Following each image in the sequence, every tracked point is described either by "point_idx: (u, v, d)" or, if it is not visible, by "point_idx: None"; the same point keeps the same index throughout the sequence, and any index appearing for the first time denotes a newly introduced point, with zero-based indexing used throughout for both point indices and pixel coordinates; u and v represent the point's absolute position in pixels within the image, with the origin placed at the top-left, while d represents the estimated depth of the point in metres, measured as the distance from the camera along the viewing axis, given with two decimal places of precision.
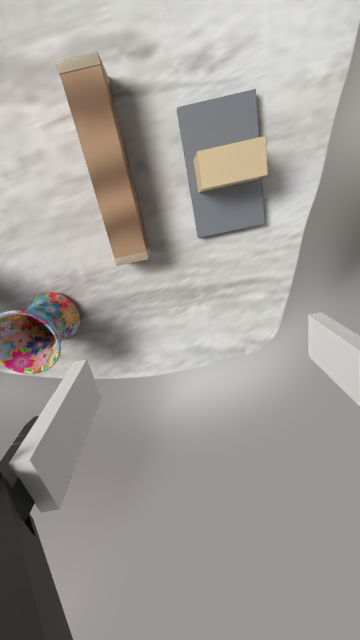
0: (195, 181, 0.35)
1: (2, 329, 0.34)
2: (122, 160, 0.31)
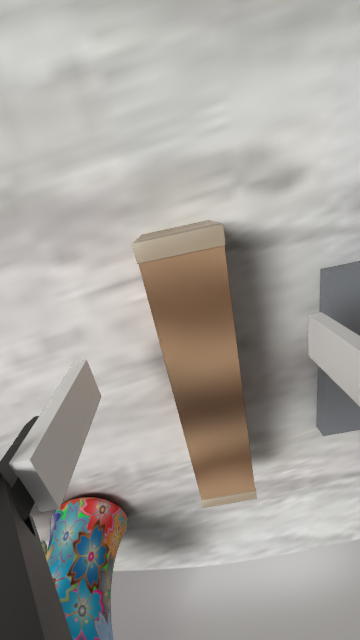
0: None
1: None
2: (239, 384, 0.16)
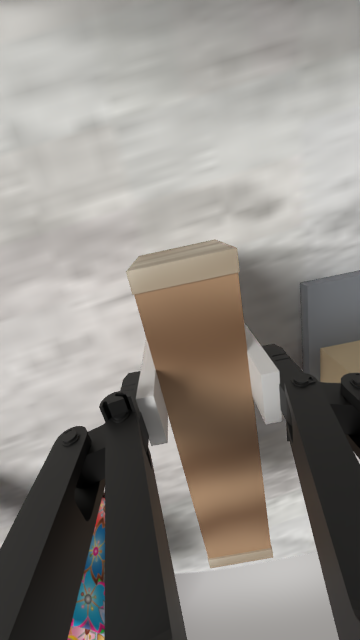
0: (318, 372, 0.23)
1: None
2: (253, 431, 0.14)
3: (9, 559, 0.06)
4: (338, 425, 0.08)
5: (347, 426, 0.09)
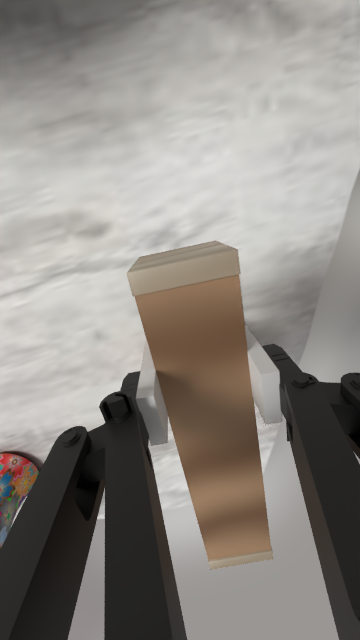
0: None
1: None
2: (254, 433, 0.14)
3: (9, 559, 0.06)
4: (338, 425, 0.08)
5: (347, 426, 0.09)
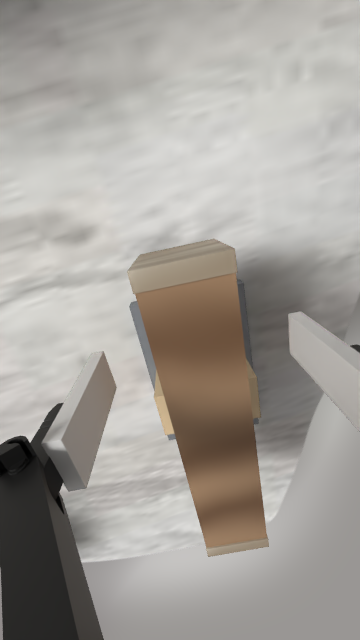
0: None
1: None
2: (250, 426, 0.14)
3: None
4: None
5: None
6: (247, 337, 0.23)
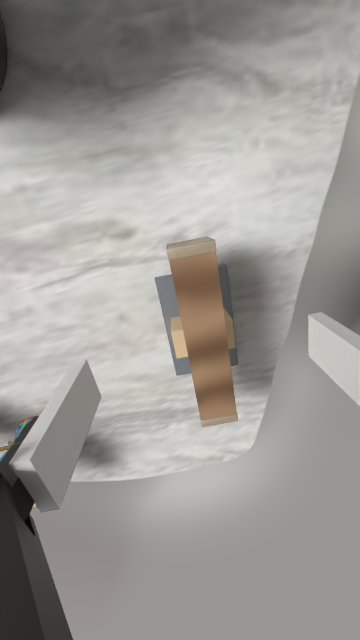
0: None
1: None
2: (225, 335, 0.27)
3: None
4: None
5: None
6: (229, 301, 0.36)
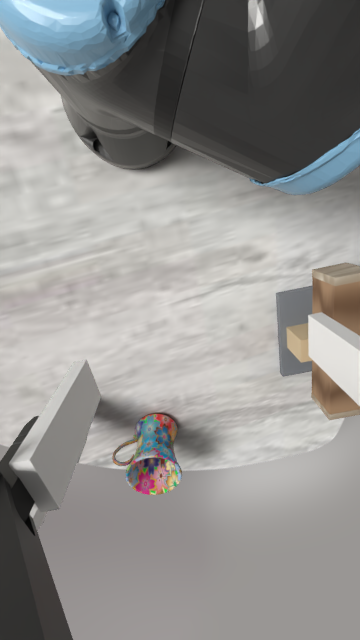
0: (286, 340, 0.44)
1: None
2: None
3: None
4: None
5: None
6: None
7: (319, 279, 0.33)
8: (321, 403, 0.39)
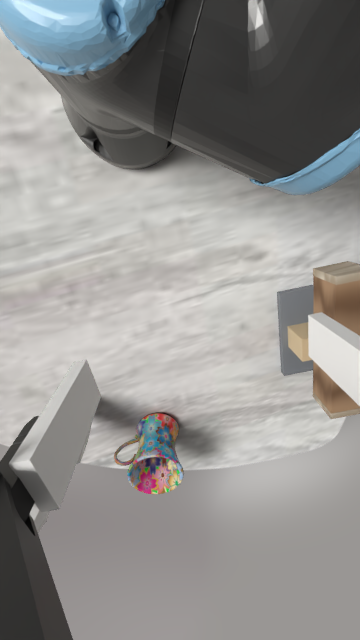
0: (287, 339, 0.44)
1: None
2: None
3: None
4: None
5: None
6: None
7: (320, 278, 0.33)
8: (322, 402, 0.39)
